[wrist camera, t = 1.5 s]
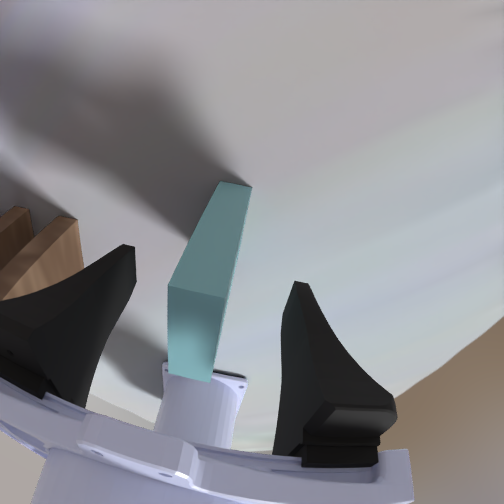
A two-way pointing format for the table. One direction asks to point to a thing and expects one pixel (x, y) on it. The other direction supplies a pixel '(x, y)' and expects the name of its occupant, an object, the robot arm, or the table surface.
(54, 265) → the domino
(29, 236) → the domino
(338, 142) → the table surface
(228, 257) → the domino
